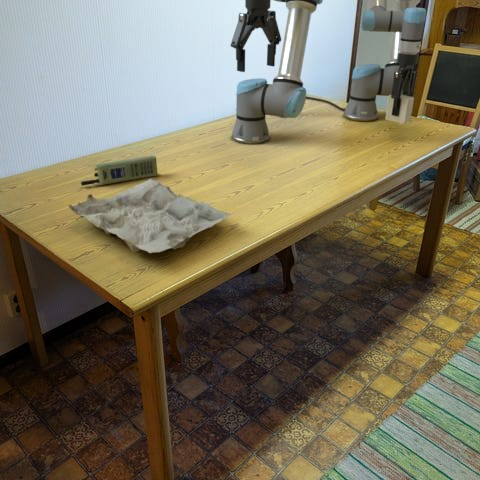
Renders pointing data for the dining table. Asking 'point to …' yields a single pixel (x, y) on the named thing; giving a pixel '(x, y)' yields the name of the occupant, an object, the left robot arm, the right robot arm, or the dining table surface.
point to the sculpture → (149, 216)
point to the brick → (404, 109)
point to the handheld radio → (124, 170)
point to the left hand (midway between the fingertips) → (256, 68)
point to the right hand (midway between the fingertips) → (398, 114)
